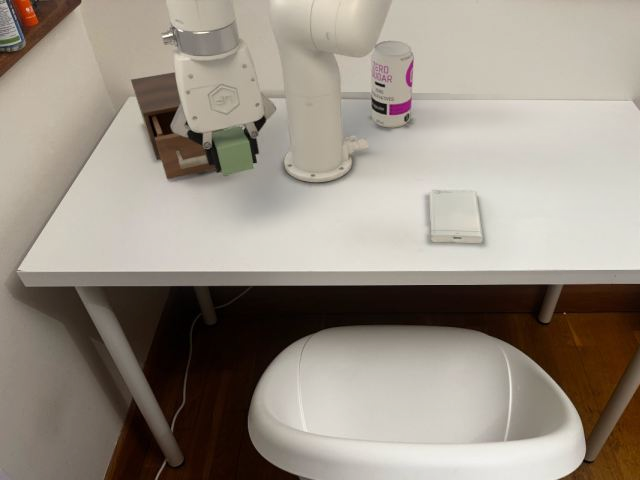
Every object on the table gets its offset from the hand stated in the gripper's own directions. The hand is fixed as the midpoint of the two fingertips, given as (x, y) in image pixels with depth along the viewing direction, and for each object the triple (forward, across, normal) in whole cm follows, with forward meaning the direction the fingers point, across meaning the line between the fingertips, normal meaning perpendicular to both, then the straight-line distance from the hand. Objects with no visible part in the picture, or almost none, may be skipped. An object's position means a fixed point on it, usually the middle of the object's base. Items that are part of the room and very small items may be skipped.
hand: (234, 161), depth 82 cm
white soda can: (+15, +37, +24) cm, 47 cm away
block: (0, 0, 0) cm, 0 cm away
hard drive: (+14, +32, -11) cm, 37 cm away
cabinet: (+14, -4, +35) cm, 38 cm away
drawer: (+13, -4, +24) cm, 27 cm away
